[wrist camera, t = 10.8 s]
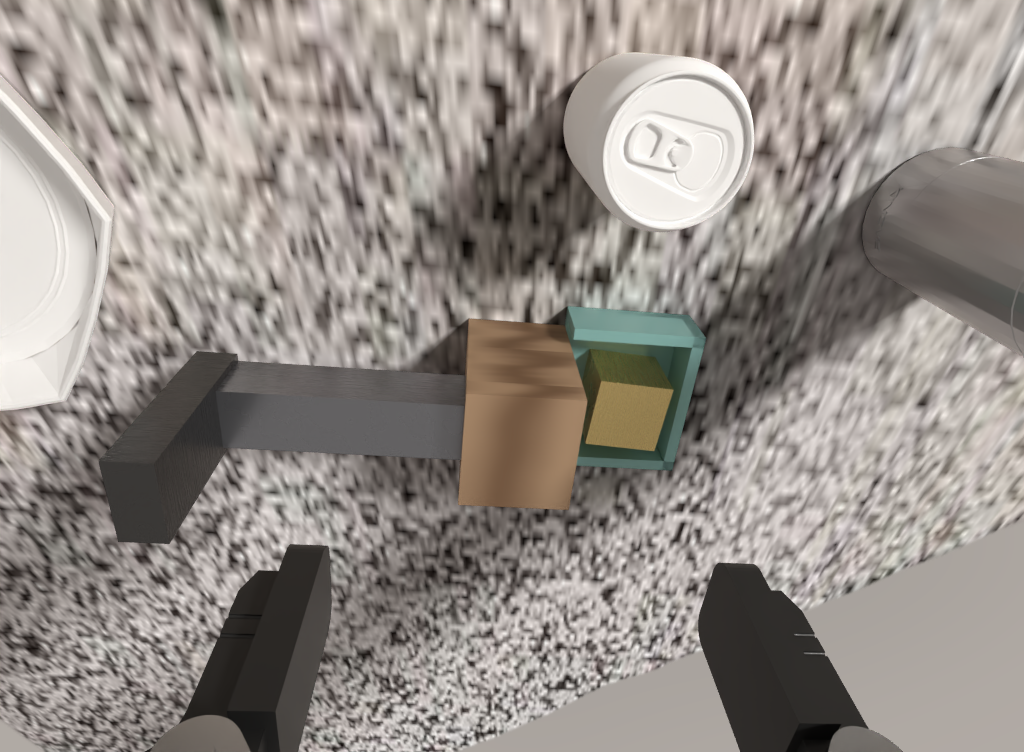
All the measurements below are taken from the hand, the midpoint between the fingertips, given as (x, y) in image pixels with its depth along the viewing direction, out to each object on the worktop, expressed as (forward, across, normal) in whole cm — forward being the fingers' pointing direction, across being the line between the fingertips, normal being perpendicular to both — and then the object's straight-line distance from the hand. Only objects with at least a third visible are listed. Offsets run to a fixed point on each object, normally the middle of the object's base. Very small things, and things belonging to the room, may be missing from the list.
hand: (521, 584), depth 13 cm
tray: (+33, -10, +12) cm, 37 cm away
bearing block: (+33, -2, +12) cm, 35 cm away
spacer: (+30, -8, +12) cm, 33 cm away
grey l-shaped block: (+28, +8, +12) cm, 31 cm away
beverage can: (+33, -8, -6) cm, 35 cm away
